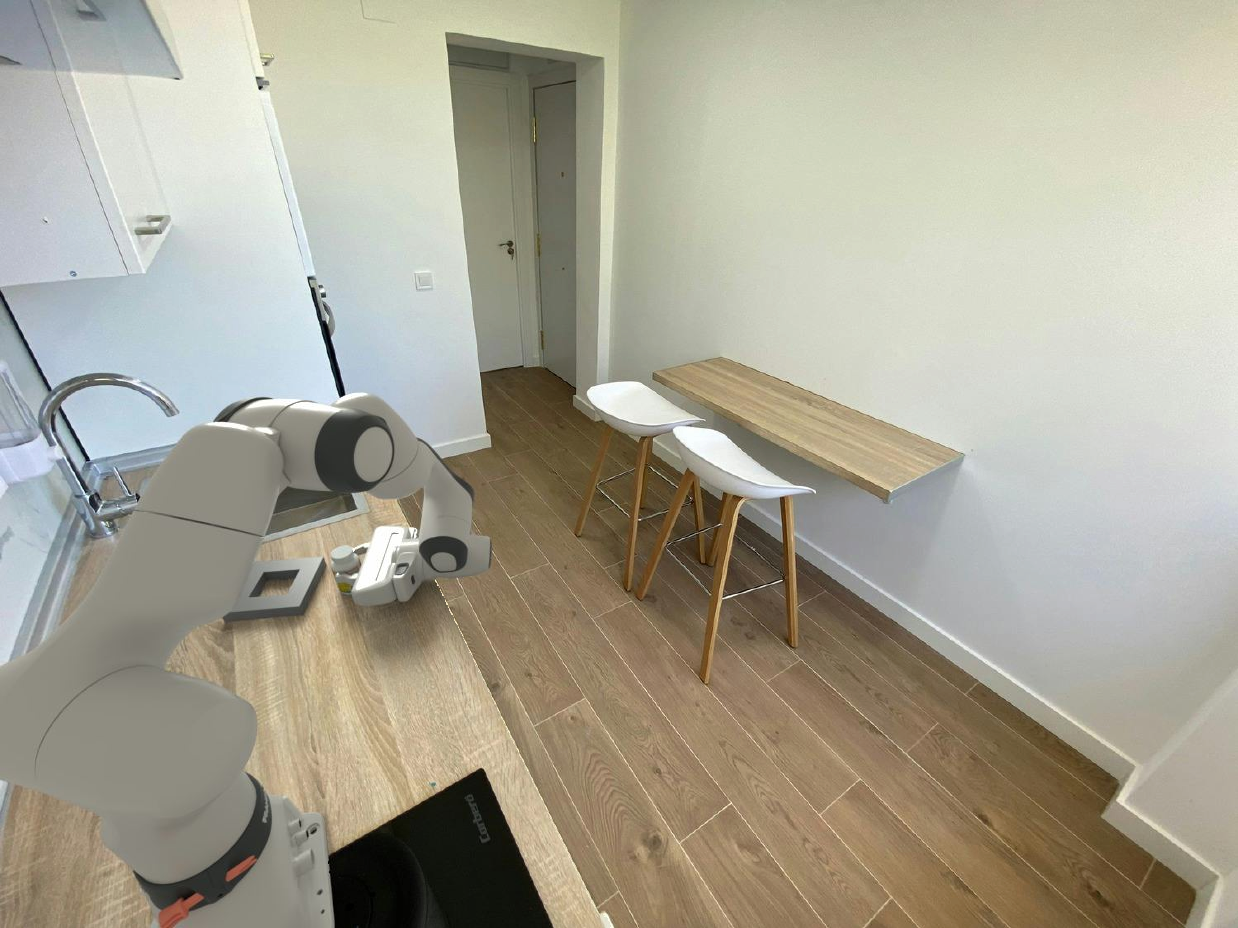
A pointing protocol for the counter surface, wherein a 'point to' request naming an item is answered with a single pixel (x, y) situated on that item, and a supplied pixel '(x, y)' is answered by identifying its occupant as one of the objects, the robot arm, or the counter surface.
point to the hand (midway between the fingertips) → (341, 565)
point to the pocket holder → (278, 605)
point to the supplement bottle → (345, 565)
